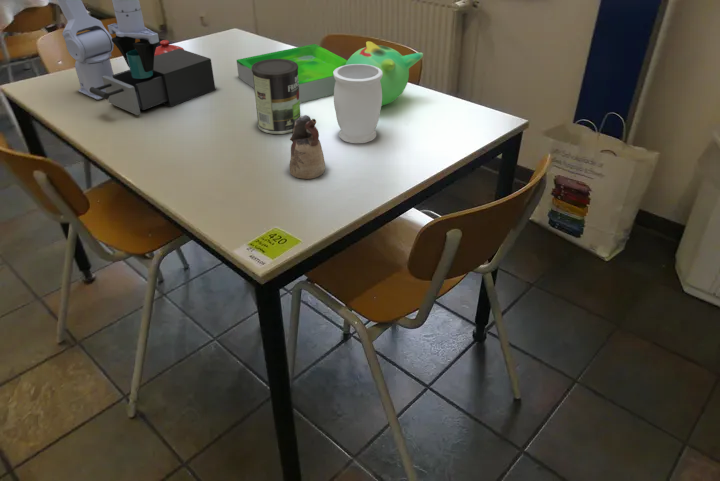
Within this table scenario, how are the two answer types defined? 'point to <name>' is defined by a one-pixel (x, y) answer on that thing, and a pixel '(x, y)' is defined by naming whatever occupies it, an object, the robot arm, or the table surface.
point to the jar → (357, 101)
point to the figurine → (306, 150)
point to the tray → (301, 69)
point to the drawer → (132, 91)
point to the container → (137, 65)
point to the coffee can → (276, 95)
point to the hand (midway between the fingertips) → (140, 68)
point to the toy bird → (387, 67)
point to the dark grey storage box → (184, 75)
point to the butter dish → (165, 47)
